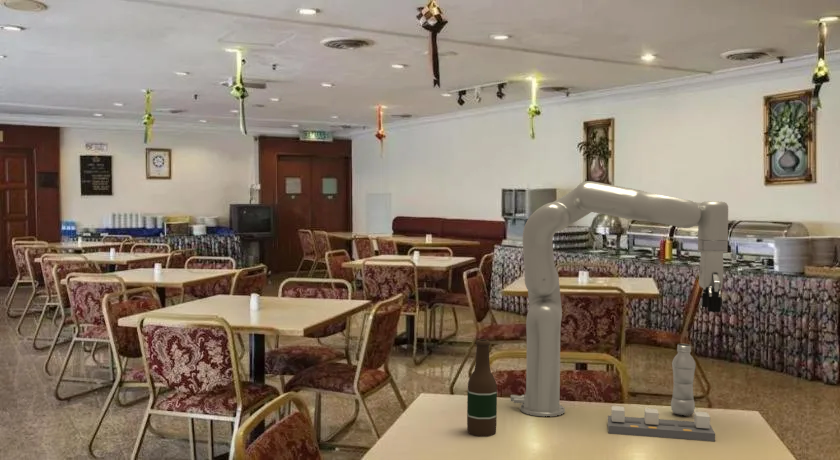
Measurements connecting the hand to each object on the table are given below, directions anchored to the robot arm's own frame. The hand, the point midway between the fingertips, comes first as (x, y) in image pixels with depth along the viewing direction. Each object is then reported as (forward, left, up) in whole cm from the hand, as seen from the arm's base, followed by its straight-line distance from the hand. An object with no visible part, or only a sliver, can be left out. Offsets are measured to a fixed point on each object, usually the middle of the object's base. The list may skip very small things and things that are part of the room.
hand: (711, 309), depth 202 cm
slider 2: (-16, -12, -29) cm, 35 cm away
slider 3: (-3, -12, -29) cm, 31 cm away
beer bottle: (-59, -25, -31) cm, 71 cm away
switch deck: (-14, -12, -31) cm, 36 cm away
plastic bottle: (-6, +7, -31) cm, 33 cm away
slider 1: (-24, -12, -29) cm, 40 cm away
